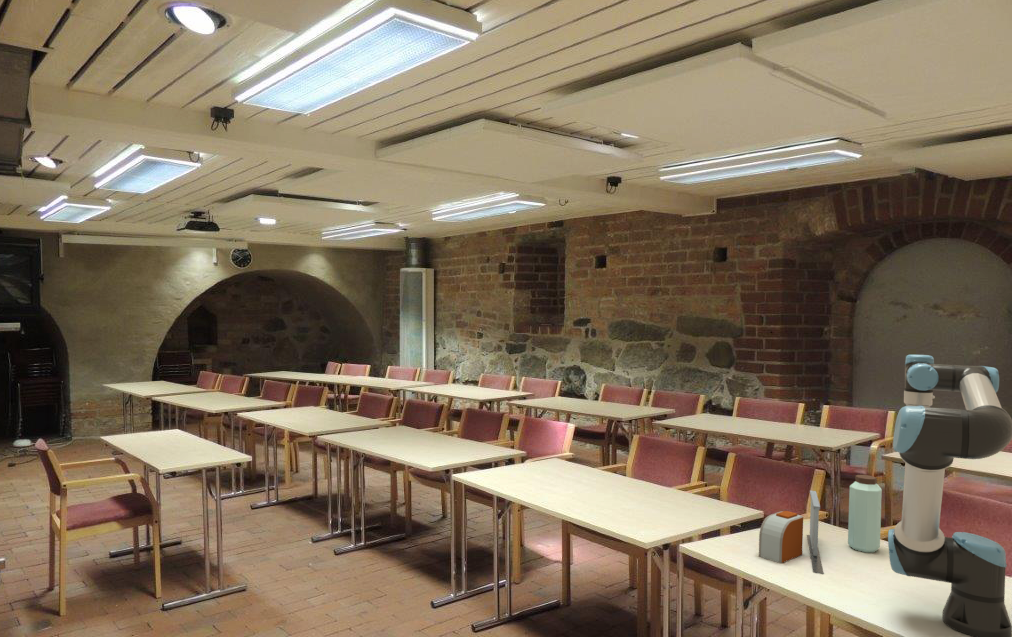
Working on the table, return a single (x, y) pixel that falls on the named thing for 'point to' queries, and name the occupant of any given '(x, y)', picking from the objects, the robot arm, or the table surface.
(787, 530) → the alarm clock
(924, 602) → the table surface
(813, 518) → the screen
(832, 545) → the table surface
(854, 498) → the water bottle
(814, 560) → the rail
